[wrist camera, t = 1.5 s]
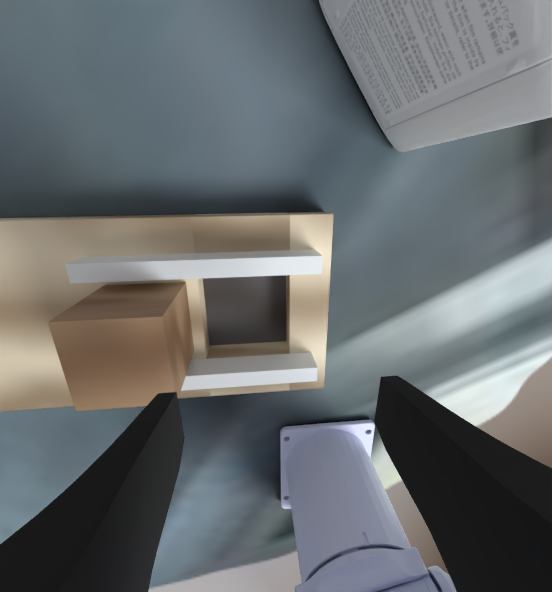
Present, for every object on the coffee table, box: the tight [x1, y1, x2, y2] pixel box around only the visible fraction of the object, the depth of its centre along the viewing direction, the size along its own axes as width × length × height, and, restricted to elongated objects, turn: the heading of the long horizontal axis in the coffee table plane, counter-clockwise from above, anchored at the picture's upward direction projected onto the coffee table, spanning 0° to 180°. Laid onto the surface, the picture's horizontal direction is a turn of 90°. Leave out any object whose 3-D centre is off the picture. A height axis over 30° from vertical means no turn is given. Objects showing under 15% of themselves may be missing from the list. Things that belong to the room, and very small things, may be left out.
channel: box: [65, 249, 323, 391], centre depth 17 cm, size 8×13×2 cm, turn 91°
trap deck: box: [0, 212, 333, 411], centre depth 18 cm, size 12×22×2 cm, turn 91°
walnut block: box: [48, 282, 194, 411], centre depth 15 cm, size 5×5×5 cm
